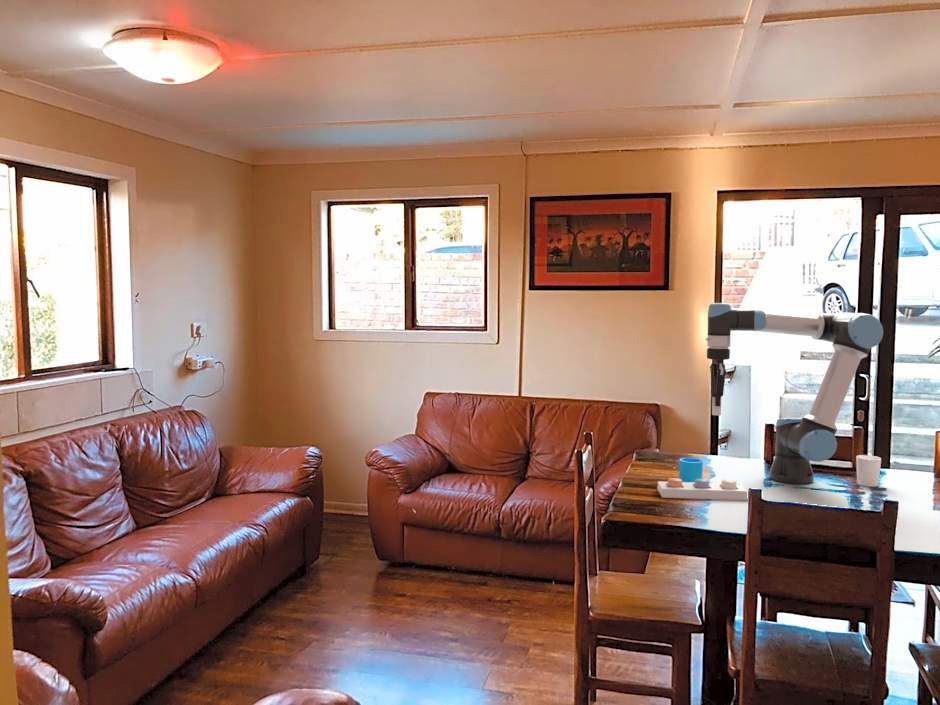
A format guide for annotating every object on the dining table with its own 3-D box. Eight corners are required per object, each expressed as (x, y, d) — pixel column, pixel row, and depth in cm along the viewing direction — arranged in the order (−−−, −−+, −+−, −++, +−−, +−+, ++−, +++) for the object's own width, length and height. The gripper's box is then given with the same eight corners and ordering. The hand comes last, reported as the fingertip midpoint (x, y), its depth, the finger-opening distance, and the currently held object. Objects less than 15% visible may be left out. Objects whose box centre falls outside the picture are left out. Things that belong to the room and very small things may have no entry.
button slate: (707, 490, 253) (707, 478, 253) (710, 494, 248) (710, 482, 248) (692, 489, 253) (693, 478, 253) (695, 493, 249) (696, 482, 248)
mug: (706, 484, 265) (707, 462, 264) (686, 485, 263) (686, 463, 262) (688, 476, 277) (689, 455, 276) (669, 477, 275) (669, 456, 274)
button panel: (739, 492, 255) (740, 483, 254) (747, 500, 245) (748, 491, 244) (657, 489, 257) (657, 481, 257) (662, 497, 247) (662, 488, 247)
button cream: (734, 491, 252) (734, 479, 252) (737, 494, 247) (738, 483, 247) (719, 490, 253) (720, 479, 252) (723, 494, 248) (723, 482, 248)
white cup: (878, 483, 268) (880, 456, 267) (880, 488, 260) (882, 460, 260) (854, 480, 271) (855, 454, 270) (855, 485, 264) (857, 458, 263)
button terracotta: (680, 489, 254) (680, 478, 254) (683, 493, 249) (683, 481, 249) (666, 489, 254) (666, 477, 254) (668, 492, 250) (669, 481, 249)
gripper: (703, 346, 261) (701, 411, 263) (711, 348, 248) (709, 417, 250) (724, 346, 260) (722, 412, 262) (734, 349, 248) (732, 418, 249)
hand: (716, 414), depth 256 cm, fingers closed
